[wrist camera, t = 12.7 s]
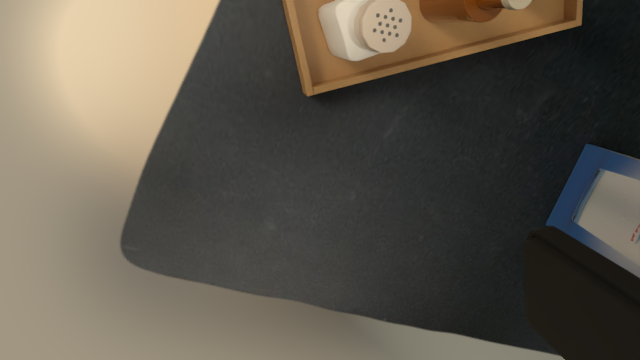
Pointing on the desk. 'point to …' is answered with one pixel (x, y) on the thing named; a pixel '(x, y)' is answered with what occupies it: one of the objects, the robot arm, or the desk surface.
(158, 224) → the desk surface
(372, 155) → the desk surface
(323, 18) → the pepper shaker
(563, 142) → the desk surface
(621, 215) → the milk carton
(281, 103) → the desk surface
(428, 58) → the tray
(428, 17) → the amber bottle
